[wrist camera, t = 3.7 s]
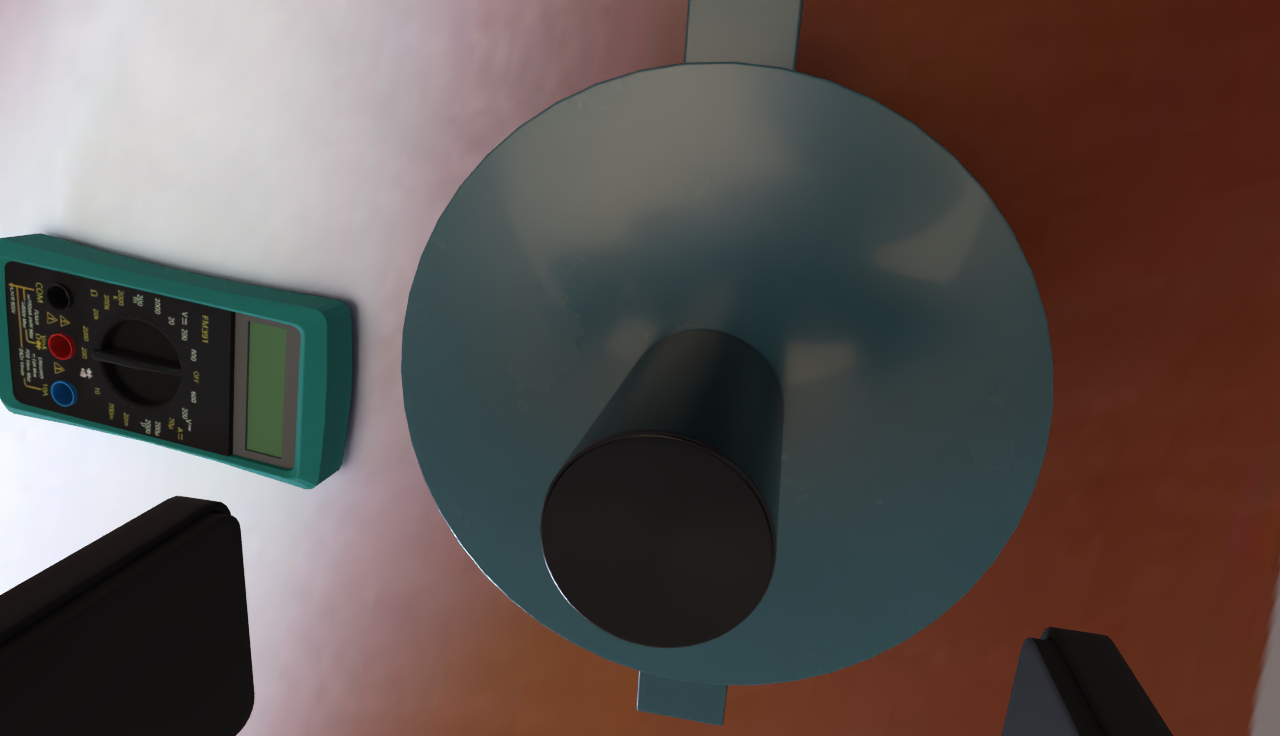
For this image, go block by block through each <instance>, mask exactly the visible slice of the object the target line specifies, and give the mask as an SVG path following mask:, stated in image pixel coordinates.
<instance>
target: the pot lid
mask: <svg viewBox="0 0 1280 736" xmlns="http://www.w3.org/2000/svg"><path fill="white" fill-rule="evenodd" d="M401 374H402V386H403V397H404V408H405V413H406V418H407V422H408V427H409V432H410V436H411V441H412V445H413V448H414V451H415V454H416V457H417V460H418V463H419V466H420V468H421V471H422V474H423V477H424V480H425V482H426V484H427V486H428V488H429V490H430V492H431V494H432V497H433V499H434V501H435V503H436V505H437V507H438V509H439V511H440V513H441V515H442V516H443V518H444V519H445V521H446V523H447V524H448V526H449V527H450V529H451V530H452V532H453V534H454V535H455V537H456V538H457V540H458V541H459V543H460V544H461V546H462V547H463V548H464V550H465V551H466V552H467V553H468V554H469V556H470V557H471V558H472V559H473V561H474V562H475V563H476V564H477V566H478V567H479V568H480V569H481V570H482V572H483V573H484V574H485V575H486V576H487V577H488V578H489V579H490V580H491V581H492V582H493V583H494V584H495V585H496V586H497V587H498V588H499V589H500V590H501V591H502V592H503V593H504V594H505V595H506V596H507V597H508V598H509V599H510V600H512V601H513V602H514V603H515V604H517V605H518V606H519V607H520V608H522V609H523V610H524V611H526V612H527V613H528V614H529V615H531V616H532V617H533V618H534V619H536V620H537V621H538V622H540V623H541V624H543V625H544V626H546V627H547V628H549V629H551V630H552V631H554V632H555V633H557V634H559V635H560V636H562V637H563V638H565V639H567V640H568V641H570V642H571V643H573V644H575V645H578V646H580V647H582V648H584V649H586V650H588V651H590V652H592V653H594V654H596V655H598V656H600V657H603V658H605V659H607V660H610V661H613V662H615V663H618V664H621V665H624V666H627V667H630V668H633V669H635V670H638V671H641V672H645V673H649V674H654V675H658V676H662V677H666V678H671V679H675V680H680V681H688V682H697V683H705V684H713V685H761V684H771V683H780V682H789V681H796V680H800V679H805V678H809V677H814V676H818V675H822V674H827V673H831V672H834V671H837V670H840V669H843V668H845V667H848V666H851V665H854V664H857V663H859V662H862V661H865V660H868V659H870V658H872V657H874V656H876V655H878V654H880V653H882V652H884V651H886V650H888V649H890V648H892V647H894V646H896V645H898V644H900V643H902V642H904V641H905V640H907V639H908V638H910V637H911V636H913V635H914V634H916V633H917V632H919V631H920V630H922V629H923V628H925V627H926V626H928V625H929V624H931V623H932V622H934V621H935V620H937V619H938V618H939V617H940V616H941V615H942V614H944V613H945V612H946V611H947V610H948V609H949V608H950V607H952V606H953V605H954V604H955V603H956V602H957V601H958V600H960V599H961V598H962V597H963V596H964V595H965V594H966V593H967V592H968V591H969V590H970V589H971V588H972V587H973V586H974V584H975V583H976V582H977V581H978V580H979V579H980V578H981V576H982V575H983V574H984V573H985V572H986V571H987V569H988V568H989V567H990V566H991V565H992V564H993V563H994V561H995V560H996V558H997V557H998V555H999V554H1000V552H1001V551H1002V549H1003V547H1004V546H1005V544H1006V543H1007V541H1008V540H1009V538H1010V537H1011V535H1012V534H1013V532H1014V531H1015V529H1016V528H1017V526H1018V523H1019V521H1020V519H1021V517H1022V515H1023V513H1024V511H1025V508H1026V506H1027V504H1028V502H1029V500H1030V498H1031V496H1032V493H1033V491H1034V489H1035V486H1036V483H1037V479H1038V476H1039V473H1040V469H1041V466H1042V463H1043V459H1044V456H1045V453H1046V449H1047V445H1048V438H1049V431H1050V424H1051V417H1052V410H1053V356H1052V349H1051V343H1050V336H1049V330H1048V323H1047V317H1046V313H1045V310H1044V307H1043V303H1042V300H1041V297H1040V294H1039V290H1038V287H1037V284H1036V281H1035V277H1034V274H1033V271H1032V269H1031V267H1030V265H1029V263H1028V261H1027V259H1026V257H1025V255H1024V253H1023V251H1022V248H1021V246H1020V244H1019V242H1018V240H1017V238H1016V236H1015V234H1014V232H1013V230H1012V228H1011V227H1010V225H1009V224H1008V222H1007V221H1006V219H1005V218H1004V217H1003V215H1002V214H1001V212H1000V211H999V209H998V208H997V206H996V205H995V203H994V202H993V200H992V199H991V197H990V196H989V194H988V193H987V191H986V190H985V189H984V188H983V187H982V186H981V185H980V184H979V182H978V181H977V180H976V179H975V178H974V177H973V176H972V175H971V174H970V173H969V172H968V170H967V169H966V168H965V167H964V166H963V165H962V164H961V163H960V162H959V161H958V159H957V158H956V157H955V156H954V155H953V154H952V153H950V152H949V151H948V150H947V149H945V148H944V147H943V146H942V145H941V144H939V143H938V142H937V141H936V140H934V139H933V138H932V137H931V136H930V135H928V134H927V133H926V132H925V131H923V130H922V129H921V128H920V127H919V126H917V125H916V124H915V123H913V122H911V121H910V120H908V119H906V118H905V117H903V116H901V115H900V114H898V113H896V112H895V111H893V110H891V109H890V108H888V107H886V106H885V105H883V104H881V103H880V102H878V101H876V100H875V99H873V98H870V97H868V96H866V95H863V94H861V93H859V92H856V91H854V90H852V89H849V88H847V87H845V86H842V85H840V84H837V83H835V82H833V81H830V80H827V79H824V78H820V77H816V76H812V75H809V74H805V73H801V72H798V71H794V70H790V69H786V68H783V67H775V66H767V65H758V64H750V63H742V62H687V63H680V64H674V65H668V66H661V67H655V68H649V69H643V70H638V71H635V72H632V73H629V74H625V75H622V76H619V77H616V78H612V79H609V80H606V81H603V82H599V83H596V84H594V85H592V86H590V87H588V88H586V89H584V90H581V91H579V92H577V93H575V94H573V95H571V96H569V97H567V98H564V99H562V100H560V101H558V102H556V103H554V104H553V105H551V106H550V107H548V108H547V109H545V110H544V111H542V112H541V113H539V114H538V115H536V116H535V117H533V118H531V119H530V120H528V121H527V122H525V123H524V124H522V125H521V126H519V127H518V128H517V129H516V130H515V131H514V132H512V133H511V134H510V135H509V136H508V137H507V138H506V139H504V140H503V141H502V142H501V143H500V144H499V145H498V146H496V147H495V148H494V149H493V150H492V151H491V152H490V153H488V154H487V156H486V157H485V158H484V159H483V160H482V161H481V162H480V164H479V165H478V166H477V167H476V168H475V169H474V171H473V172H472V173H471V174H470V175H469V176H468V177H467V179H466V180H465V181H464V182H463V183H462V184H461V186H460V187H459V189H458V190H457V192H456V193H455V195H454V196H453V198H452V199H451V201H450V202H449V204H448V206H447V207H446V209H445V210H444V212H443V213H442V215H441V216H440V218H439V219H438V221H437V223H436V226H435V228H434V230H433V232H432V234H431V236H430V238H429V240H428V243H427V245H426V247H425V249H424V251H423V253H422V255H421V258H420V261H419V265H418V268H417V271H416V274H415V277H414V281H413V284H412V287H411V290H410V293H409V299H408V305H407V310H406V316H405V322H404V328H403V338H402V362H401Z"/></svg>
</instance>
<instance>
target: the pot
mask: <svg viewBox="0 0 1280 736" xmlns="http://www.w3.org/2000/svg"><path fill="white" fill-rule="evenodd" d="M803 1H804V0H688V11H687V25H686V38H685V52H684V63H687V62H742V63H750V64H758V65H767V66H775V67H783V68H786V69H790V70H794V71H796V64H797V55H798V46H799V37H800V28H801V19H802V10H803ZM727 688H728V685H713V684H705V683H697V682H688V681H680V680H675V679H671V678H666V677H662V676H658V675H654V674H649V673H645V672H641V671H639V682H638V696H637V710H638V711H643V712H649V713H654V714H660V715H665V716H671V717H676V718H682V719H687V720H692V721H698V722H703V723H709V724H714V725H720V726H722V725H723V721H724V713H725V706H726V697H727Z"/></svg>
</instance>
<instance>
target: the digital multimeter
mask: <svg viewBox="0 0 1280 736" xmlns="http://www.w3.org/2000/svg"><path fill="white" fill-rule="evenodd" d="M351 387H352V326H351V313H350V309H349V307H348V306H347V305H346V303H344V302H342V301H340V300H334V299H329V298H323V297H317V296H311V295H306V294H300V293H294V292H288V291H282V290H277V289H271V288H265V287H259V286H253V285H248V284H242V283H238V282H233V281H228V280H223V279H219V278H214V277H209V276H204V275H199V274H195V273H190V272H185V271H180V270H176V269H171V268H167V267H163V266H159V265H155V264H151V263H147V262H143V261H140V260H136V259H132V258H128V257H124V256H120V255H116V254H112V253H108V252H105V251H101V250H97V249H93V248H90V247H86V246H83V245H79V244H76V243H72V242H69V241H65V240H62V239H58V238H55V237H51V236H48V235H44V234H31V235H23V236H15V237H7V238H0V399H1V400H2V402H3V404H4V405H5V407H6V408H7V409H8V410H9V411H10V412H12V413H14V414H19V415H24V416H29V417H34V418H39V419H44V420H49V421H55V422H60V423H65V424H70V425H74V426H79V427H83V428H88V429H92V430H96V431H101V432H105V433H110V434H114V435H119V436H123V437H128V438H132V439H136V440H141V441H145V442H149V443H152V444H156V445H160V446H163V447H167V448H170V449H174V450H178V451H181V452H185V453H189V454H192V455H196V456H200V457H203V458H207V459H211V460H214V461H218V462H221V463H224V464H227V465H230V466H234V467H237V468H240V469H243V470H246V471H250V472H253V473H256V474H259V475H262V476H266V477H269V478H272V479H275V480H278V481H281V482H285V483H288V484H291V485H294V486H297V487H301V488H304V489H312V488H314V487H315V486H317V485H318V484H320V483H321V482H322V481H324V480H325V479H327V478H328V477H329V476H331V475H332V474H334V473H335V472H336V471H338V470H339V469H340V467H341V464H342V459H343V453H344V447H345V441H346V435H347V427H348V420H349V412H350V402H351Z"/></svg>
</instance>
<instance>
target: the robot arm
mask: <svg viewBox="0 0 1280 736" xmlns="http://www.w3.org/2000/svg"><path fill="white" fill-rule="evenodd" d="M253 705H254V684H253V672H252V660H251V648H250V636H249V624H248V612H247V600H246V589H245V577H244V565H243V553H242V541H241V529H240V525H239V522H238V520H237V519H236V518H235V517H233V516H231V513H230V511H229V509H228V507H227V506H226V505H224V504H223V503H221V502H216V501H210V500H203V499H196V498H190V497H183V496H175V497H172V498H170V499H167V500H166V501H164V502H162V503H160V504H159V505H157V506H155V507H153V508H152V509H150V510H148V511H146V512H145V513H143V514H141V515H139V516H138V517H136V518H134V519H132V520H131V521H129V522H127V523H125V524H124V525H122V526H120V527H118V528H117V529H115V530H113V531H111V532H110V533H108V534H106V535H105V536H103V537H101V538H99V539H98V540H96V541H94V542H92V543H91V544H89V545H87V546H85V547H84V548H82V549H80V550H78V551H77V552H75V553H73V554H71V555H70V556H68V557H66V558H64V559H63V560H61V561H59V562H57V563H56V564H54V565H52V566H50V567H49V568H47V569H45V570H43V571H42V572H40V573H38V574H36V575H35V576H33V577H31V578H29V579H28V580H26V581H24V582H22V583H21V584H19V585H17V586H15V587H14V588H12V589H10V590H9V591H7V592H5V593H3V594H2V595H0V736H236V735H237V734H238V733H239V732H240V731H241V730H242V728H243V727H244V726H245V724H246V723H247V721H248V719H249V717H250V715H251V712H252V709H253ZM1002 736H1173V735H1172V733H1171V732H1170V730H1169V729H1168V727H1167V725H1166V724H1165V722H1164V721H1163V719H1162V718H1161V716H1160V715H1159V713H1158V711H1157V710H1156V708H1155V707H1154V705H1153V704H1152V702H1151V700H1150V699H1149V697H1148V696H1147V694H1146V693H1145V691H1144V690H1143V688H1142V686H1141V685H1140V683H1139V682H1138V680H1137V679H1136V677H1135V676H1134V674H1133V672H1132V671H1131V669H1130V668H1129V666H1128V665H1127V663H1126V661H1125V660H1124V658H1123V657H1122V655H1121V654H1120V652H1119V651H1118V649H1117V647H1116V646H1115V644H1114V643H1113V641H1112V640H1111V639H1110V638H1109V637H1108V636H1105V635H1100V634H1094V633H1087V632H1080V631H1074V630H1067V629H1060V628H1054V627H1048V628H1047V629H1045V631H1044V632H1043V634H1042V635H1041V638H1040V639H1035V638H1027V639H1026V640H1025V642H1024V643H1023V646H1022V649H1021V653H1020V657H1019V661H1018V666H1017V670H1016V675H1015V679H1014V683H1013V688H1012V692H1011V697H1010V701H1009V705H1008V710H1007V714H1006V718H1005V723H1004V727H1003V732H1002Z"/></svg>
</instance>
